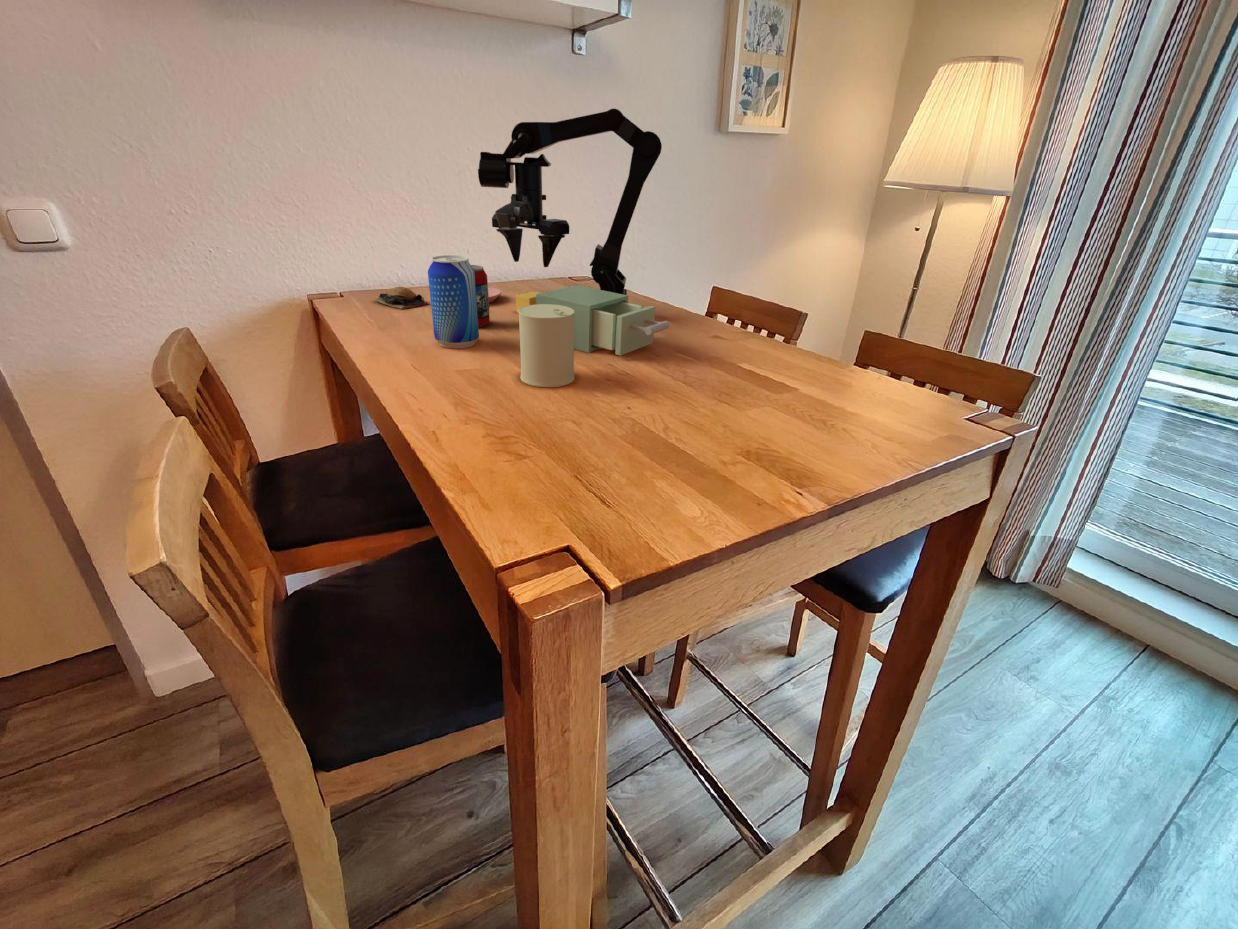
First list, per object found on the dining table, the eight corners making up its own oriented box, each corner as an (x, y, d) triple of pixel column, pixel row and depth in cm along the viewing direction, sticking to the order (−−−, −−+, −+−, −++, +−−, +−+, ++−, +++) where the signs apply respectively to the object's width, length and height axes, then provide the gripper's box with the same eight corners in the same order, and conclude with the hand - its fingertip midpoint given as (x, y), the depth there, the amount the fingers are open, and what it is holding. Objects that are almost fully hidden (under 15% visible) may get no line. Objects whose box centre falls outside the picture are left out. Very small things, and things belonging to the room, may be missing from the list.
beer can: (487, 340, 117) (482, 257, 110) (464, 352, 110) (457, 263, 103) (451, 335, 120) (443, 252, 112) (426, 345, 113) (416, 259, 105)
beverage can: (482, 329, 124) (478, 271, 118) (452, 326, 125) (447, 268, 119) (494, 322, 130) (491, 265, 124) (466, 319, 131) (461, 263, 125)
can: (552, 391, 95) (551, 317, 89) (509, 379, 99) (505, 307, 93) (585, 376, 102) (586, 307, 96) (543, 365, 106) (542, 298, 100)
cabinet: (626, 339, 123) (628, 295, 118) (588, 352, 113) (589, 305, 109) (576, 326, 129) (576, 284, 125) (537, 338, 120) (536, 293, 116)
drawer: (674, 348, 116) (677, 311, 112) (642, 361, 107) (644, 322, 104) (603, 330, 124) (605, 295, 121) (569, 341, 116) (569, 304, 113)
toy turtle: (372, 302, 140) (370, 286, 139) (402, 296, 147) (400, 281, 145) (400, 310, 135) (398, 293, 133) (430, 304, 141) (428, 288, 140)
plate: (513, 299, 149) (512, 291, 148) (472, 309, 139) (472, 300, 138) (472, 290, 156) (471, 283, 155) (430, 299, 145) (429, 291, 144)
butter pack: (547, 311, 140) (547, 294, 138) (529, 315, 136) (529, 298, 134) (533, 307, 143) (533, 291, 141) (516, 312, 138) (515, 295, 136)
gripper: (470, 186, 126) (476, 262, 133) (535, 193, 116) (536, 274, 124) (508, 185, 134) (511, 257, 141) (571, 192, 124) (570, 268, 132)
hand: (530, 264), depth 134 cm, fingers open, 9 cm apart
